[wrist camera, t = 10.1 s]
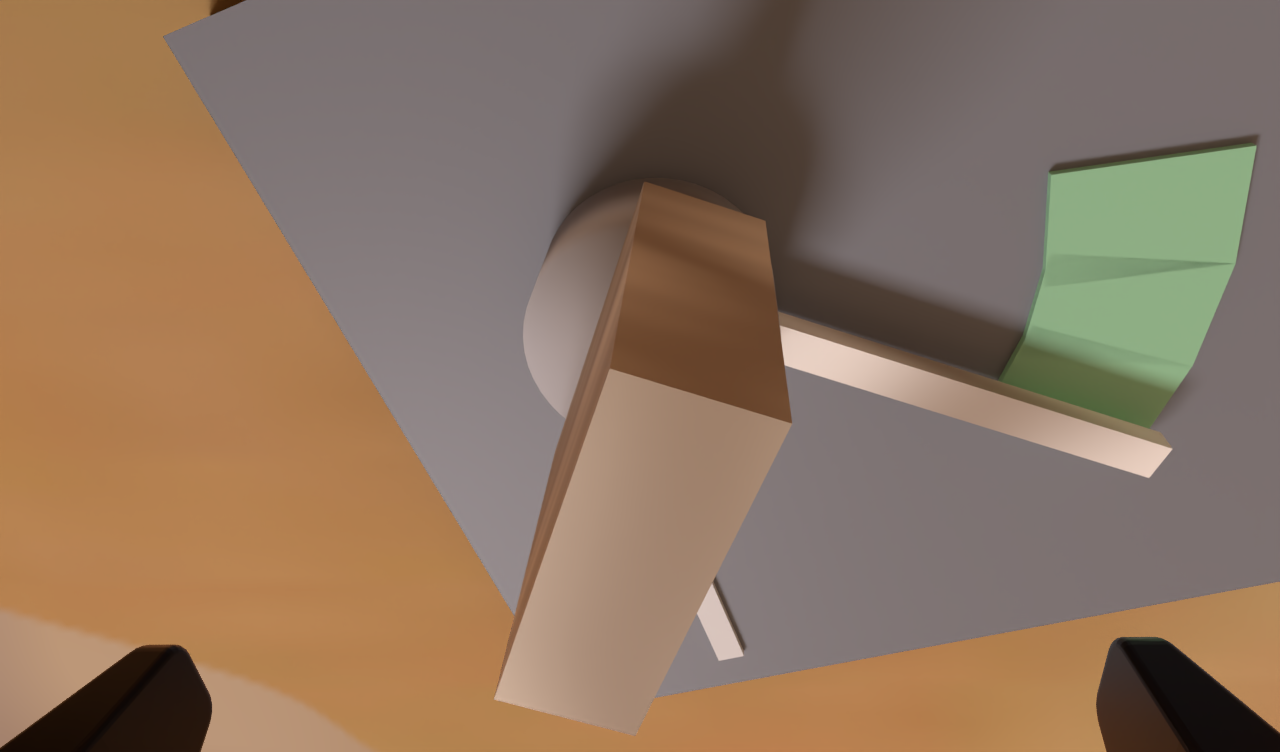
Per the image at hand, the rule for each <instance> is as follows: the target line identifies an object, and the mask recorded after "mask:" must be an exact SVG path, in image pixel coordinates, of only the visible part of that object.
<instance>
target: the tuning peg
mask: <svg viewBox="0 0 1280 752" xmlns="http://www.w3.org/2000/svg"><path fill="white" fill-rule="evenodd" d="M523 343H524V352H525V356H526V360H527V364H528V367H529V369H530V372H531V374H532V377H533V379H534V381H535V383H536V384H537V386H538V388H539V390H540V391H541V393H542V394H543V395H544V397H545V398H546V399H547V401H548V402H549V403H550V404H551V406H552V407H553V408H554V409H555V410H556V411H557V412H558V413H559V414H560V415H562V416H563V417H564V418H565V419H566V420H565V423H564V426H563V429H562V432H561V435H560V438H559V441H558V444H557V447H556V450H555V454H554V458H553V462H552V466H551V470H550V474H549V478H548V482H547V486H546V490H545V494H544V498H543V502H542V506H541V510H540V514H539V519H538V523H537V527H536V531H535V535H534V539H533V543H532V547H531V551H530V555H529V559H528V563H527V567H526V571H525V575H524V579H523V583H522V587H521V592H520V596H519V600H518V604H517V608H516V612H515V616H514V620H513V624H512V628H511V632H510V636H509V640H508V644H507V648H506V652H505V656H504V660H503V664H502V669H501V673H500V677H499V681H498V685H497V689H496V693H495V697H494V700H498V701H502V702H506V703H510V704H514V705H517V706H521V707H525V708H529V709H533V710H537V711H541V712H545V713H548V714H552V715H556V716H560V717H564V718H568V719H572V720H575V721H579V722H583V723H587V724H591V725H595V726H599V727H602V728H606V729H610V730H614V731H618V732H622V733H626V734H630V735H633V736H635V735H636V733H637V731H638V729H639V727H640V726H641V724H642V722H643V720H644V718H645V716H646V714H647V712H648V710H649V708H650V706H651V704H652V702H653V700H654V698H655V696H656V694H657V692H658V690H659V688H660V686H661V684H662V682H663V680H664V678H665V676H666V674H667V672H668V670H669V668H670V666H671V664H672V662H673V660H674V658H675V656H676V654H677V652H678V650H679V648H680V646H681V644H682V642H683V640H684V638H685V636H686V634H687V632H688V630H689V628H690V626H691V624H692V622H693V620H694V618H695V616H696V614H697V612H698V610H699V608H700V606H701V604H702V602H703V600H704V598H705V596H706V594H707V592H708V590H709V588H710V586H711V584H712V582H713V580H714V578H715V576H716V574H717V572H718V570H719V568H720V566H721V564H722V562H723V560H724V558H725V557H726V555H727V553H728V551H729V549H730V547H731V545H732V543H733V541H734V539H735V537H736V535H737V533H738V531H739V529H740V527H741V525H742V523H743V521H744V519H745V517H746V515H747V513H748V511H749V509H750V507H751V505H752V503H753V501H754V499H755V497H756V495H757V493H758V491H759V489H760V487H761V485H762V483H763V481H764V479H765V477H766V475H767V473H768V471H769V469H770V467H771V465H772V463H773V461H774V459H775V457H776V455H777V453H778V451H779V449H780V447H781V445H782V443H783V441H784V439H785V437H786V435H787V433H788V431H789V429H790V427H791V425H792V418H791V410H790V403H789V395H788V388H787V380H786V372H785V366H788V367H792V368H795V369H798V370H801V371H805V372H808V373H811V374H814V375H818V376H821V377H824V378H827V379H830V380H834V381H837V382H840V383H843V384H847V385H850V386H853V387H856V388H860V389H863V390H866V391H869V392H872V393H876V394H879V395H882V396H885V397H889V398H892V399H895V400H898V401H902V402H905V403H908V404H911V405H914V406H918V407H921V408H924V409H927V410H931V411H934V412H937V413H940V414H944V415H947V416H950V417H953V418H956V419H960V420H963V421H966V422H969V423H973V424H976V425H979V426H982V427H986V428H989V429H992V430H995V431H998V432H1002V433H1005V434H1008V435H1011V436H1015V437H1018V438H1021V439H1024V440H1028V441H1031V442H1034V443H1037V444H1040V445H1044V446H1047V447H1050V448H1053V449H1057V450H1060V451H1063V452H1066V453H1070V454H1073V455H1076V456H1079V457H1082V458H1086V459H1089V460H1092V461H1095V462H1099V463H1102V464H1105V465H1108V466H1112V467H1115V468H1118V469H1121V470H1124V471H1128V472H1131V473H1134V474H1137V475H1141V476H1144V477H1147V478H1150V476H1151V475H1152V474H1153V473H1154V471H1155V470H1156V469H1157V468H1158V467H1159V465H1160V464H1161V463H1162V462H1163V460H1164V459H1165V458H1166V457H1167V455H1168V454H1169V453H1170V452H1171V450H1172V447H1171V446H1170V444H1169V443H1168V442H1167V440H1166V439H1165V438H1164V436H1163V435H1162V433H1161V432H1158V431H1155V430H1152V429H1148V428H1145V427H1142V426H1139V425H1136V424H1133V423H1129V422H1126V421H1123V420H1120V419H1117V418H1114V417H1110V416H1107V415H1104V414H1101V413H1098V412H1095V411H1091V410H1088V409H1085V408H1082V407H1079V406H1076V405H1072V404H1069V403H1066V402H1063V401H1060V400H1057V399H1053V398H1050V397H1047V396H1044V395H1041V394H1038V393H1034V392H1031V391H1028V390H1025V389H1022V388H1019V387H1015V386H1012V385H1009V384H1006V383H1003V382H1000V381H997V380H993V379H990V378H987V377H984V376H981V375H978V374H974V373H971V372H968V371H965V370H962V369H959V368H955V367H952V366H949V365H946V364H943V363H940V362H936V361H933V360H930V359H927V358H924V357H921V356H917V355H914V354H911V353H908V352H905V351H902V350H898V349H895V348H892V347H889V346H886V345H883V344H879V343H876V342H873V341H870V340H867V339H864V338H860V337H857V336H854V335H851V334H848V333H845V332H841V331H838V330H835V329H832V328H829V327H826V326H822V325H819V324H816V323H813V322H810V321H807V320H803V319H800V318H797V317H794V316H791V315H788V314H784V313H781V312H778V306H777V299H776V291H775V284H774V276H773V269H772V265H771V259H770V251H769V244H768V236H767V229H766V221H764V220H761V219H758V218H755V217H752V216H749V215H746V214H743V213H742V212H741V211H740V210H739V209H738V208H737V207H736V206H735V205H733V204H732V203H731V202H729V201H728V200H727V199H725V198H724V197H722V196H720V195H719V194H717V193H715V192H713V191H711V190H709V189H707V188H704V187H702V186H699V185H697V184H693V183H690V182H686V181H682V180H676V179H668V178H644V179H636V180H630V181H626V182H622V183H619V184H615V185H613V186H611V187H608V188H606V189H603V190H601V191H599V192H598V193H596V194H594V195H592V196H591V197H589V198H588V199H586V200H585V201H584V202H582V203H581V204H580V205H578V206H577V207H576V208H575V209H574V210H573V211H572V212H571V213H570V214H569V215H568V216H567V217H566V219H565V220H564V221H563V223H562V224H561V225H560V227H559V228H558V230H557V232H556V234H555V235H554V237H553V239H552V241H551V244H550V246H549V249H548V252H547V254H546V257H545V260H544V262H543V265H542V268H541V270H540V273H539V276H538V278H537V281H536V284H535V286H534V289H533V292H532V294H531V297H530V300H529V302H528V305H527V308H526V313H525V318H524V324H523Z"/></svg>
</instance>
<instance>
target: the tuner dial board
mask: <svg viewBox="0 0 1280 752" xmlns="http://www.w3.org/2000/svg"><path fill="white" fill-rule="evenodd" d="M163 37H164V39H165V41H166V42H167V44H168V46H169V47H170V49H171V51H172V52H173V54H174V55H175V57H176V59H177V60H178V62H179V64H180V65H181V67H182V69H183V70H184V72H185V74H186V75H187V77H188V79H189V80H190V82H191V84H192V85H193V87H194V88H195V90H196V92H197V93H198V95H199V97H200V98H201V100H202V102H203V103H204V105H205V107H206V108H207V110H208V112H209V113H210V115H211V116H212V118H213V120H214V121H215V123H216V125H217V126H218V128H219V130H220V131H221V133H222V135H223V136H224V138H225V140H226V141H227V143H228V145H229V146H230V148H231V149H232V151H233V153H234V154H235V156H236V158H237V159H238V161H239V163H240V164H241V166H242V168H243V169H244V171H245V173H246V174H247V176H248V178H249V179H250V181H251V182H252V184H253V186H254V187H255V189H256V191H257V192H258V194H259V196H260V197H261V199H262V201H263V202H264V204H265V206H266V207H267V209H268V210H269V212H270V214H271V215H272V217H273V219H274V220H275V222H276V224H277V225H278V227H279V229H280V230H281V232H282V234H283V235H284V237H285V239H286V240H287V242H288V243H289V245H290V247H291V248H292V250H293V252H294V253H295V255H296V257H297V258H298V260H299V262H300V263H301V265H302V267H303V268H304V270H305V271H306V273H307V275H308V276H309V278H310V280H311V281H312V283H313V285H314V286H315V288H316V290H317V291H318V293H319V295H320V296H321V298H322V300H323V301H324V303H325V304H326V306H327V308H328V309H329V311H330V313H331V314H332V316H333V318H334V319H335V321H336V323H337V324H338V326H339V328H340V329H341V331H342V333H343V334H344V336H345V337H346V339H347V341H348V342H349V344H350V346H351V347H352V349H353V351H354V352H355V354H356V356H357V357H358V359H359V361H360V362H361V364H362V365H363V367H364V369H365V370H366V372H367V374H368V375H369V377H370V379H371V380H372V382H373V384H374V385H375V387H376V389H377V390H378V392H379V394H380V395H381V397H382V398H383V400H384V402H385V403H386V405H387V407H388V408H389V410H390V412H391V413H392V415H393V417H394V418H395V420H396V422H397V423H398V425H399V426H400V428H401V430H402V431H403V433H404V435H405V436H406V438H407V440H408V441H409V443H410V445H411V446H412V448H413V450H414V451H415V453H416V455H417V456H418V458H419V459H420V461H421V463H422V464H423V466H424V468H425V469H426V471H427V473H428V474H429V476H430V478H431V479H432V481H433V483H434V484H435V486H436V488H437V489H438V491H439V492H440V494H441V496H442V497H443V499H444V501H445V502H446V504H447V506H448V507H449V509H450V511H451V512H452V514H453V516H454V517H455V519H456V520H457V522H458V524H459V525H460V527H461V529H462V530H463V532H464V534H465V535H466V537H467V539H468V540H469V542H470V544H471V545H472V547H473V549H474V550H475V552H476V553H477V555H478V557H479V558H480V560H481V562H482V563H483V565H484V567H485V568H486V570H487V572H488V573H489V575H490V577H491V578H492V580H493V581H494V583H495V585H496V586H497V588H498V590H499V591H500V593H501V595H502V596H503V598H504V600H505V601H506V603H507V605H508V606H509V608H510V610H511V611H512V613H513V614H514V616H515V612H516V608H517V604H518V600H519V596H520V592H521V587H522V583H523V579H524V575H525V571H526V567H527V563H528V559H529V555H530V551H531V547H532V543H533V539H534V535H535V531H536V527H537V523H538V519H539V514H540V510H541V506H542V502H543V498H544V494H545V490H546V486H547V482H548V478H549V474H550V470H551V466H552V462H553V458H554V454H555V450H556V447H557V444H558V441H559V438H560V435H561V432H562V429H563V426H564V423H565V420H566V419H565V418H564V417H563V416H562V415H560V414H559V413H558V412H557V411H556V410H555V409H554V408H553V407H552V406H551V404H550V403H549V402H548V401H547V399H546V398H545V397H544V395H543V394H542V393H541V391H540V390H539V388H538V386H537V384H536V383H535V381H534V379H533V377H532V374H531V372H530V369H529V367H528V364H527V360H526V356H525V352H524V343H523V324H524V318H525V313H526V308H527V305H528V302H529V300H530V297H531V294H532V292H533V289H534V286H535V284H536V281H537V278H538V276H539V273H540V270H541V268H542V265H543V262H544V260H545V257H546V254H547V252H548V249H549V246H550V244H551V241H552V239H553V237H554V235H555V234H556V232H557V230H558V228H559V227H560V225H561V224H562V223H563V221H564V220H565V219H566V217H567V216H568V215H569V214H570V213H571V212H572V211H573V210H574V209H575V208H576V207H577V206H578V205H580V204H581V203H582V202H584V201H585V200H586V199H588V198H589V197H591V196H592V195H594V194H596V193H598V192H599V191H601V190H603V189H606V188H608V187H611V186H613V185H615V184H619V183H622V182H626V181H630V180H636V179H644V178H668V179H676V180H682V181H686V182H690V183H693V184H697V185H699V186H702V187H704V188H707V189H709V190H711V191H713V192H715V193H717V194H719V195H720V196H722V197H724V198H725V199H727V200H728V201H729V202H731V203H732V204H733V205H735V206H736V207H737V208H738V209H739V210H740V211H741V212H742V213H743V214H746V215H749V216H752V217H755V218H758V219H761V220H764V221H766V229H767V236H768V244H769V251H770V259H771V265H772V269H773V276H774V284H775V291H776V299H777V306H778V312H781V313H784V314H788V315H791V316H794V317H797V318H800V319H803V320H807V321H810V322H813V323H816V324H819V325H822V326H826V327H829V328H832V329H835V330H838V331H841V332H845V333H848V334H851V335H854V336H857V337H860V338H864V339H867V340H870V341H873V342H876V343H879V344H883V345H886V346H889V347H892V348H895V349H898V350H902V351H905V352H908V353H911V354H914V355H917V356H921V357H924V358H927V359H930V360H933V361H936V362H940V363H943V364H946V365H949V366H952V367H955V368H959V369H962V370H965V371H968V372H971V373H974V374H978V375H981V376H984V377H987V378H990V379H993V380H997V381H1000V382H1003V383H1006V384H1009V385H1012V386H1015V387H1019V388H1022V389H1025V390H1028V391H1031V392H1034V393H1038V394H1041V395H1044V396H1047V397H1050V398H1053V399H1057V400H1060V401H1063V402H1066V403H1069V404H1072V405H1076V406H1079V407H1082V408H1085V409H1088V410H1091V411H1095V412H1098V413H1101V414H1104V415H1107V416H1110V417H1114V418H1117V419H1120V420H1123V421H1126V422H1129V423H1133V424H1136V425H1139V426H1142V427H1145V428H1148V429H1152V430H1155V431H1158V432H1161V433H1162V435H1163V436H1164V438H1165V439H1166V440H1167V442H1168V443H1169V444H1170V446H1171V447H1172V450H1171V452H1170V453H1169V454H1168V455H1167V457H1166V458H1165V459H1164V460H1163V462H1162V463H1161V464H1160V465H1159V467H1158V468H1157V469H1156V470H1155V471H1154V473H1153V474H1152V475H1151V476H1150V478H1147V477H1144V476H1141V475H1137V474H1134V473H1131V472H1128V471H1124V470H1121V469H1118V468H1115V467H1112V466H1108V465H1105V464H1102V463H1099V462H1095V461H1092V460H1089V459H1086V458H1082V457H1079V456H1076V455H1073V454H1070V453H1066V452H1063V451H1060V450H1057V449H1053V448H1050V447H1047V446H1044V445H1040V444H1037V443H1034V442H1031V441H1028V440H1024V439H1021V438H1018V437H1015V436H1011V435H1008V434H1005V433H1002V432H998V431H995V430H992V429H989V428H986V427H982V426H979V425H976V424H973V423H969V422H966V421H963V420H960V419H956V418H953V417H950V416H947V415H944V414H940V413H937V412H934V411H931V410H927V409H924V408H921V407H918V406H914V405H911V404H908V403H905V402H902V401H898V400H895V399H892V398H889V397H885V396H882V395H879V394H876V393H872V392H869V391H866V390H863V389H860V388H856V387H853V386H850V385H847V384H843V383H840V382H837V381H834V380H830V379H827V378H824V377H821V376H818V375H814V374H811V373H808V372H805V371H801V370H798V369H795V368H792V367H788V366H785V372H786V380H787V388H788V395H789V403H790V410H791V418H792V425H791V427H790V429H789V431H788V433H787V435H786V437H785V439H784V441H783V443H782V445H781V447H780V449H779V451H778V453H777V455H776V457H775V459H774V461H773V463H772V465H771V467H770V469H769V471H768V473H767V475H766V477H765V479H764V481H763V483H762V485H761V487H760V489H759V491H758V493H757V495H756V497H755V499H754V501H753V503H752V505H751V507H750V509H749V511H748V513H747V515H746V517H745V519H744V521H743V523H742V525H741V527H740V529H739V531H738V533H737V535H736V537H735V539H734V541H733V543H732V545H731V547H730V549H729V551H728V553H727V555H726V557H725V558H724V560H723V562H722V564H721V566H720V568H719V570H718V572H717V574H716V576H715V578H714V580H713V582H712V584H711V586H710V588H709V590H708V592H707V594H706V596H705V598H704V600H703V602H702V604H701V606H700V608H699V610H698V612H697V614H696V616H695V618H694V620H693V622H692V624H691V626H690V628H689V630H688V632H687V634H686V636H685V638H684V640H683V642H682V644H681V646H680V648H679V650H678V652H677V654H676V656H675V658H674V660H673V662H672V664H671V666H670V668H669V670H668V672H667V674H666V676H665V678H664V680H663V682H662V684H661V686H660V688H659V690H658V692H657V694H656V696H655V698H656V697H661V696H667V695H672V694H678V693H683V692H688V691H694V690H699V689H704V688H710V687H715V686H721V685H726V684H731V683H737V682H742V681H747V680H753V679H758V678H764V677H769V676H774V675H780V674H785V673H790V672H796V671H801V670H807V669H812V668H817V667H823V666H828V665H833V664H839V663H844V662H850V661H855V660H860V659H866V658H871V657H876V656H882V655H887V654H893V653H898V652H903V651H909V650H914V649H919V648H925V647H930V646H936V645H941V644H946V643H952V642H957V641H962V640H968V639H973V638H979V637H984V636H989V635H995V634H1000V633H1005V632H1011V631H1016V630H1022V629H1027V628H1032V627H1038V626H1043V625H1048V624H1054V623H1059V622H1065V621H1070V620H1075V619H1081V618H1086V617H1091V616H1097V615H1102V614H1108V613H1113V612H1118V611H1124V610H1129V609H1135V608H1140V607H1145V606H1151V605H1156V604H1161V603H1167V602H1172V601H1178V600H1183V599H1188V598H1194V597H1199V596H1204V595H1210V594H1215V593H1221V592H1226V591H1231V590H1237V589H1242V588H1247V587H1253V586H1258V585H1264V584H1269V583H1274V582H1280V0H246V1H243V2H241V3H239V4H236V5H234V6H232V7H230V8H227V9H225V10H223V11H220V12H218V13H216V14H213V15H211V16H209V17H206V18H204V19H202V20H199V21H197V22H195V23H193V24H190V25H188V26H186V27H183V28H181V29H179V30H176V31H174V32H172V33H169V34H167V35H165V36H163Z"/></svg>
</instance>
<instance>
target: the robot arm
mask: <svg viewBox="0 0 1280 752" xmlns="http://www.w3.org/2000/svg"><path fill="white" fill-rule="evenodd" d="M1096 707H1097V716H1098V722H1099V726H1100V729H1101V733H1102V737H1103V740H1104V744H1105V748H1106V751H1107V752H1280V733H1279V732H1278V731H1277V730H1276V729H1274V728H1273V727H1272V726H1271V725H1270V724H1268V723H1267V722H1266V721H1265V720H1263V719H1262V718H1261V717H1260V716H1259V715H1257V714H1256V713H1255V712H1254V711H1253V710H1251V709H1250V708H1249V707H1248V706H1247V705H1245V704H1244V703H1243V702H1242V701H1240V700H1239V699H1238V698H1237V697H1236V696H1234V695H1233V694H1232V693H1231V692H1230V691H1228V690H1227V689H1226V688H1225V687H1224V686H1222V685H1221V684H1220V683H1219V682H1217V681H1216V680H1215V679H1214V678H1213V677H1211V676H1210V675H1209V674H1208V673H1207V672H1205V671H1204V670H1203V669H1202V668H1201V667H1199V666H1198V665H1197V664H1196V663H1194V662H1193V661H1192V660H1191V659H1190V658H1188V657H1187V656H1186V655H1185V654H1184V653H1182V652H1181V651H1180V650H1179V649H1178V648H1176V647H1175V646H1174V645H1173V644H1171V643H1170V642H1168V641H1166V640H1164V639H1162V638H1158V637H1121V638H1117V639H1116V640H1114V641H1113V642H1112V644H1111V646H1110V648H1109V651H1108V655H1107V659H1106V663H1105V667H1104V670H1103V674H1102V678H1101V682H1100V686H1099V689H1098V693H1097V701H1096ZM211 714H212V702H211V697H210V694H209V692H208V690H207V688H206V686H205V684H204V682H203V680H202V678H201V676H200V674H199V672H198V670H197V668H196V666H195V664H194V663H193V661H192V659H191V657H190V655H189V653H188V652H187V650H186V649H184V648H183V647H181V646H179V645H145V646H141V647H139V648H136V649H135V650H133V651H132V652H130V653H129V654H127V655H126V656H125V657H123V658H122V659H121V660H119V661H118V662H116V663H115V664H114V665H112V666H111V667H110V668H108V669H107V670H106V671H104V672H103V673H101V674H100V675H99V676H97V677H96V678H95V679H93V680H92V681H91V682H89V683H88V684H87V685H85V686H84V687H82V688H81V689H80V690H78V691H77V692H76V693H74V694H73V695H72V696H70V697H69V698H67V699H66V700H65V701H63V702H62V703H61V704H59V705H58V706H57V707H55V708H54V709H53V710H51V711H50V712H48V713H47V714H46V715H44V716H43V717H42V718H40V719H39V720H38V721H36V722H35V723H34V724H32V725H31V726H29V727H28V728H27V729H25V730H24V731H23V732H21V733H20V734H19V735H17V736H16V737H15V738H13V739H12V740H10V741H9V742H8V743H6V744H5V745H4V746H2V747H1V748H0V752H201V748H202V746H203V742H204V740H205V736H206V733H207V730H208V727H209V724H210V720H211Z"/></svg>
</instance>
